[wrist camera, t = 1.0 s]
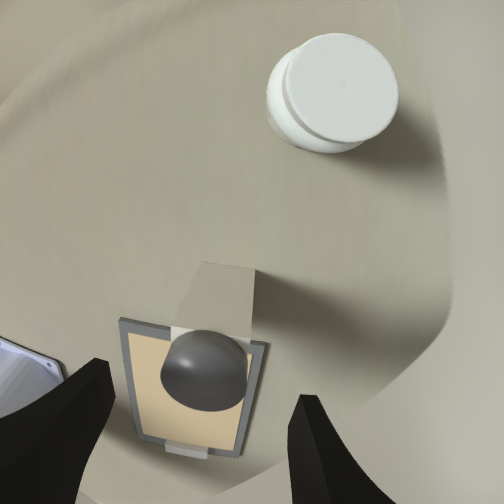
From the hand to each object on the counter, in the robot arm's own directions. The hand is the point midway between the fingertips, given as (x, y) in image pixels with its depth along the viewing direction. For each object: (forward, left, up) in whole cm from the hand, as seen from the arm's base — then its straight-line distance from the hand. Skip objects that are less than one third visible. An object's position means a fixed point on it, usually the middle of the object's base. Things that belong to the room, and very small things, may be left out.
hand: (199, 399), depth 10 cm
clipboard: (-2, -11, -9) cm, 14 cm away
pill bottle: (+3, +11, -9) cm, 15 cm away
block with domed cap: (0, 0, -9) cm, 9 cm away
